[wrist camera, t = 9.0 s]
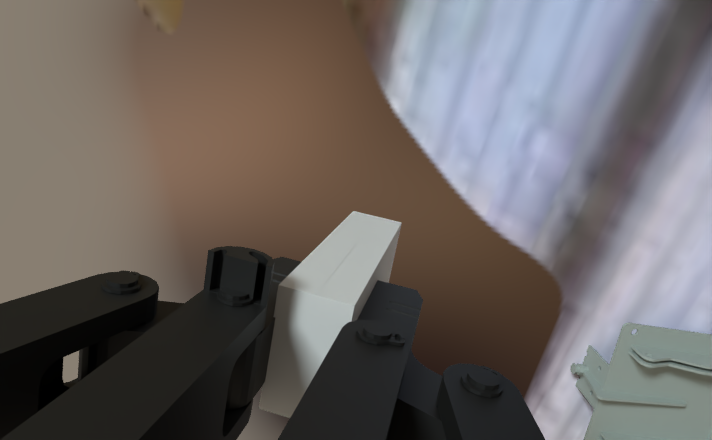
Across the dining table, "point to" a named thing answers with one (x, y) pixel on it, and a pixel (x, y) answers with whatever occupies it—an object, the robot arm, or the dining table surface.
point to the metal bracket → (650, 386)
